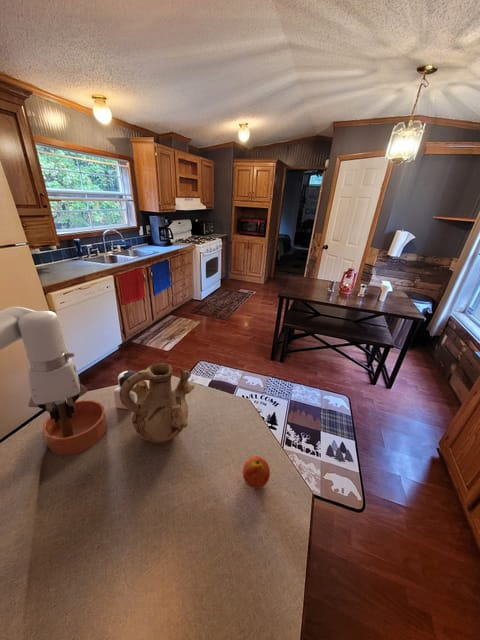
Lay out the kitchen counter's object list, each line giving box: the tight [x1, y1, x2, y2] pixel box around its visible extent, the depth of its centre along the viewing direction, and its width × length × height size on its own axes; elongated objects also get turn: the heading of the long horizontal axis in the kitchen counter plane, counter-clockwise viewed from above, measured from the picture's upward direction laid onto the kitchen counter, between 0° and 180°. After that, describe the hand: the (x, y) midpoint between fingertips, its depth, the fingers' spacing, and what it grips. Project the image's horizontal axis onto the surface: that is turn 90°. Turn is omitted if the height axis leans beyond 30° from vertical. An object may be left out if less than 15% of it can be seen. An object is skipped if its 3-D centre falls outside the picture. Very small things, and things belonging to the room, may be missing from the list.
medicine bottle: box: [113, 370, 137, 410], centre depth 88 cm, size 7×7×12 cm
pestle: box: [53, 398, 78, 438], centre depth 70 cm, size 4×4×14 cm
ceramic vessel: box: [119, 362, 195, 444], centre depth 74 cm, size 18×19×25 cm
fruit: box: [242, 455, 271, 489], centre depth 65 cm, size 7×7×8 cm
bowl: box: [42, 399, 108, 456], centre depth 75 cm, size 15×15×6 cm
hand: (64, 416), depth 70 cm, fingers closed on pestle, 2 cm apart
